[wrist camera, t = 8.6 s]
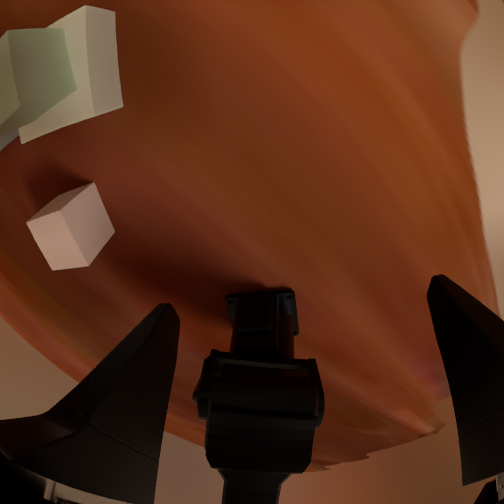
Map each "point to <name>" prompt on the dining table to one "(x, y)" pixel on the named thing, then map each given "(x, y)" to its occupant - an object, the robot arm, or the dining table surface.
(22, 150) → the dining table surface
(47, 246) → the pink cube
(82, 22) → the cream base
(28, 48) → the sage cube
